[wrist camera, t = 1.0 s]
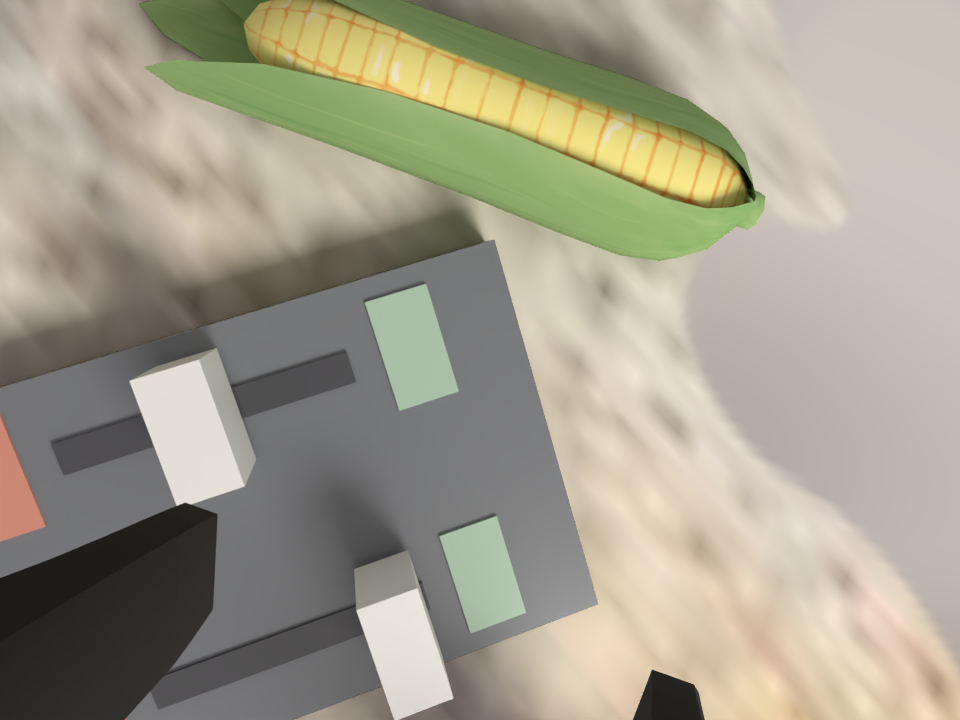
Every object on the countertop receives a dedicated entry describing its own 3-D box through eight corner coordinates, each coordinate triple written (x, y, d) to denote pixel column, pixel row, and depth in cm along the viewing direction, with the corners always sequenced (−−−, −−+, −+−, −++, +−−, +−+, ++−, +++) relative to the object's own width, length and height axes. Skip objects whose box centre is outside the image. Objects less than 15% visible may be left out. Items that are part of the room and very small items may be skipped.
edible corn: (692, 286, 27) (761, 289, 23) (119, 92, 23) (68, 50, 19) (737, 148, 27) (815, 123, 23) (165, -74, 23) (123, -156, 19)
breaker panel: (23, 796, 25) (2, 832, 23) (-142, 429, 23) (-177, 441, 21) (584, 586, 28) (599, 605, 26) (485, 241, 26) (494, 239, 24)
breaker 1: (198, 478, 23) (177, 508, 20) (156, 366, 22) (129, 380, 20) (256, 459, 23) (244, 486, 20) (216, 347, 23) (198, 359, 20)
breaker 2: (388, 668, 25) (394, 721, 22) (354, 569, 24) (356, 610, 21) (440, 648, 25) (453, 698, 22) (407, 549, 25) (417, 588, 22)
